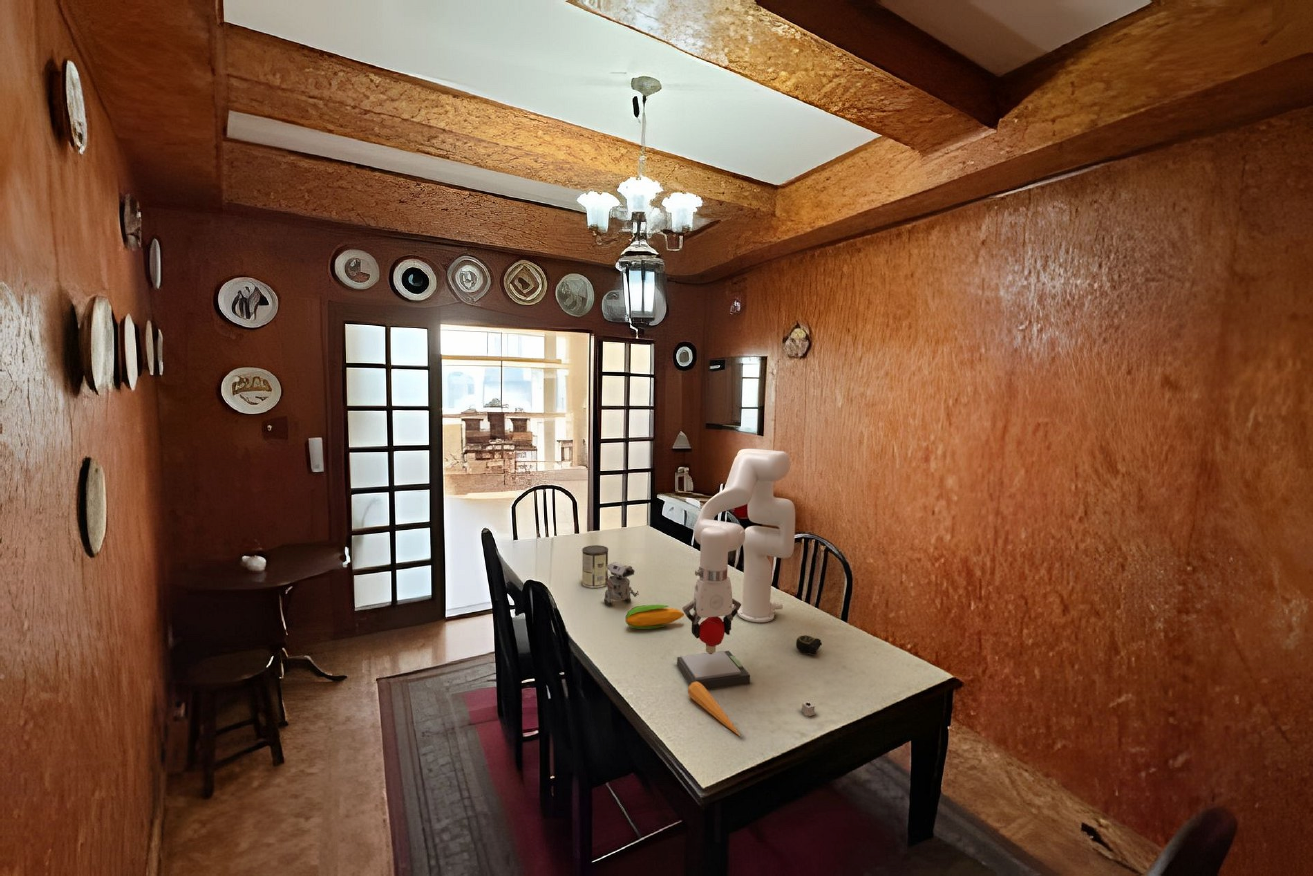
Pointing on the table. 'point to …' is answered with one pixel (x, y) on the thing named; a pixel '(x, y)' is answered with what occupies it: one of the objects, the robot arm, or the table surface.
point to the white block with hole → (808, 708)
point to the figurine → (618, 583)
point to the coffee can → (594, 566)
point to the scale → (713, 669)
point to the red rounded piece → (711, 633)
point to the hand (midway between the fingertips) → (711, 634)
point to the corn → (651, 616)
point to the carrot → (709, 704)
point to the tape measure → (808, 644)
